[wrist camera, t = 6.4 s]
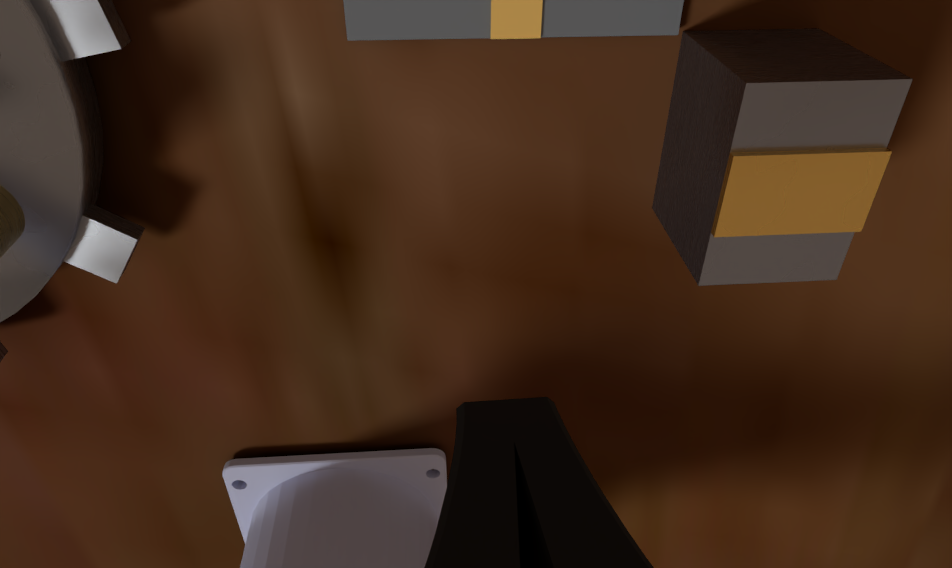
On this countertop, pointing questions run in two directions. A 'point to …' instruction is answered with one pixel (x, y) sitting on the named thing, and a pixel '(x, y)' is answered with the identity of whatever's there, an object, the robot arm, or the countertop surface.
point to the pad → (509, 18)
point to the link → (773, 152)
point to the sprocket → (54, 148)
